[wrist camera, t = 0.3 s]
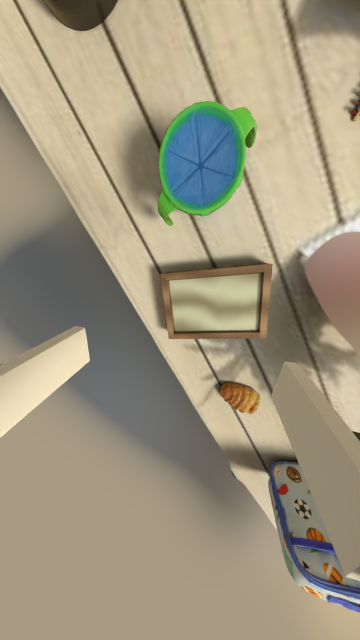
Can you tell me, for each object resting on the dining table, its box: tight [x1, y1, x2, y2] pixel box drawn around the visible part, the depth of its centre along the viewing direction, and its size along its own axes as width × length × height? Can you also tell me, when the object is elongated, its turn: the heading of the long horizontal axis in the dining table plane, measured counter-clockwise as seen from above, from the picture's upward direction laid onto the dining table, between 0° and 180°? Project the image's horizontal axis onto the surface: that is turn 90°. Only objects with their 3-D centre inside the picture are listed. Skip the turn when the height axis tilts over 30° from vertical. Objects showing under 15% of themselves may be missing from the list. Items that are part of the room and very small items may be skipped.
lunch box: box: [268, 461, 360, 612], centre depth 38 cm, size 28×10×22 cm, turn 96°
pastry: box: [220, 383, 260, 414], centre depth 41 cm, size 9×7×4 cm
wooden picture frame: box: [160, 263, 272, 339], centre depth 34 cm, size 14×20×4 cm
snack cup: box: [158, 101, 257, 226], centre depth 24 cm, size 16×10×10 cm
